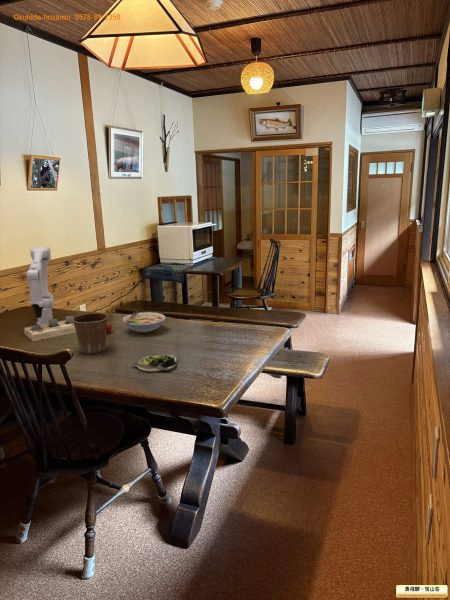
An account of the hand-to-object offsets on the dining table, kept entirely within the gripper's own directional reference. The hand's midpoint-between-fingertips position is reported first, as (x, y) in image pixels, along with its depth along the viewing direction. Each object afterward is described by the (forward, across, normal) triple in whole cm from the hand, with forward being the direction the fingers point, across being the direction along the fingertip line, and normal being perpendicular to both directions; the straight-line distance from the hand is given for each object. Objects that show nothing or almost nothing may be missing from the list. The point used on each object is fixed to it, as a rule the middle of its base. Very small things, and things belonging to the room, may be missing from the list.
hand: (38, 317), depth 228 cm
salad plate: (+10, +77, +26) cm, 82 cm away
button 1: (+9, 0, -2) cm, 9 cm away
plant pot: (+10, +40, +12) cm, 43 cm away
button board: (+9, +2, +7) cm, 12 cm away
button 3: (+7, 0, +16) cm, 18 cm away
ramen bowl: (+10, +30, +46) cm, 55 cm away
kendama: (+10, +21, +22) cm, 32 cm away
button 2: (+7, 0, +7) cm, 10 cm away
